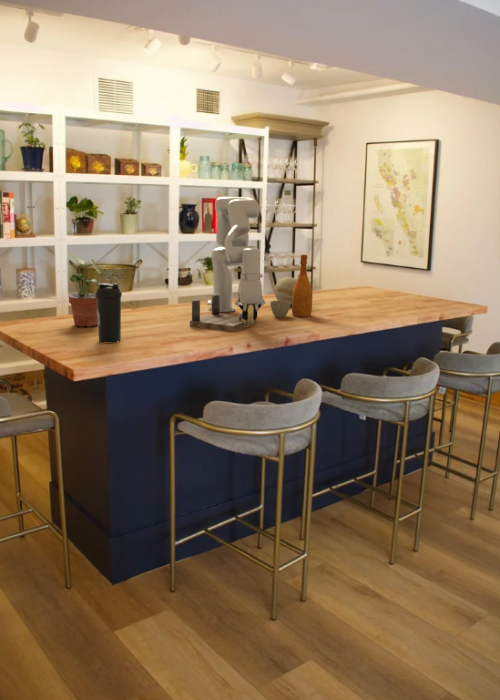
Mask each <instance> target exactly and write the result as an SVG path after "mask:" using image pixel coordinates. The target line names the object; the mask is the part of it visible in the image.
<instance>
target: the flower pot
mask: <svg viewBox="0 0 500 700" xmlns="http://www.w3.org/2000/svg"><path fill="white" fill-rule="evenodd" d="M291 306H292V305H291V302H288V301H278V300H272V301H270V309H271V312H272V314H273V316H274V317H275V318H286V316H287V315H288V313H289V311H290V308H291Z"/></svg>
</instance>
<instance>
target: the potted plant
mask: <svg viewBox="0 0 500 700" xmlns="http://www.w3.org/2000/svg"><path fill="white" fill-rule="evenodd" d="M69 254H70V255H71V256H72V258H73V259H74V260H75V261H76V262H78V264H79V265H78V267H79V272H81V268H80V267H82V268H83V267H84V270H83V271H84V272H83V273H75V274H72V275H71V276H70V278H69V280H70V281H71V282H72V283H74V282H75V284H76V285H75V286H76V290H77V292H78V293H77V292H76V293H72V294H71V293H70V294H69V295H68V303H69V304H70V307H71V312H72V317H73V318H72V319H73V325H74V326H77V327H83V328H84V327H94V326H98V319H97V302H96V297H95V292H92V293H90V292H89V291H90V289H91V286H92V285H93V284H96V285H97V286H99V285H98V280H97V279H95V278H92V279H89V277H90V275H88V277H87V279H86V278H85V274H86V271H85V270H86V268H90V269H89V270H91V268H92V265H93V266H94V267H93V268H94V269H95V270H96V272H97V274H99V275H101V274H104V272H105V270H106V268H99V267H98V266H97V264H96V262H95V260H94V259H91V260H90V261H89V262H88V263H89V264H87V262H86V261H85V260H83V259H81V258H79V257H77V256H76V255H74V254H73V253H71V252H69ZM90 272H91V271H89V273H88V274H90ZM79 282H80V284H79V285H80V286H79V287H80V288H79V287H78V284H77V283H79ZM87 286H89V287H88V288H87Z"/></svg>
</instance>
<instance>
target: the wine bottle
mask: <svg viewBox="0 0 500 700" xmlns="http://www.w3.org/2000/svg"><path fill="white" fill-rule="evenodd" d="M299 264H300V270H299V274H298V275H297V279H296V280H297V281H296V283H295V286H294V288H293V293H292V305H291V314H292V316H294V317H298V318H309V317H310V316H311V315H312V312H313V311H312V310H313V288H312V285H311V282H310V280H309V277H308V272H307V264H308V254H305V253H304V254H300V261H299Z"/></svg>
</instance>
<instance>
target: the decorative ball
mask: <svg viewBox="0 0 500 700" xmlns="http://www.w3.org/2000/svg"><path fill="white" fill-rule="evenodd" d="M296 281H297V279H296V278H294V277H291V276H286V277H282V278H281V279H279V280H278V281H277V282H276V284H275V287H274V292H273V293H274V296H275V298H276V301H288V302H291V305H290V306H292V293H293V288H294V286H295V283H296Z"/></svg>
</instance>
